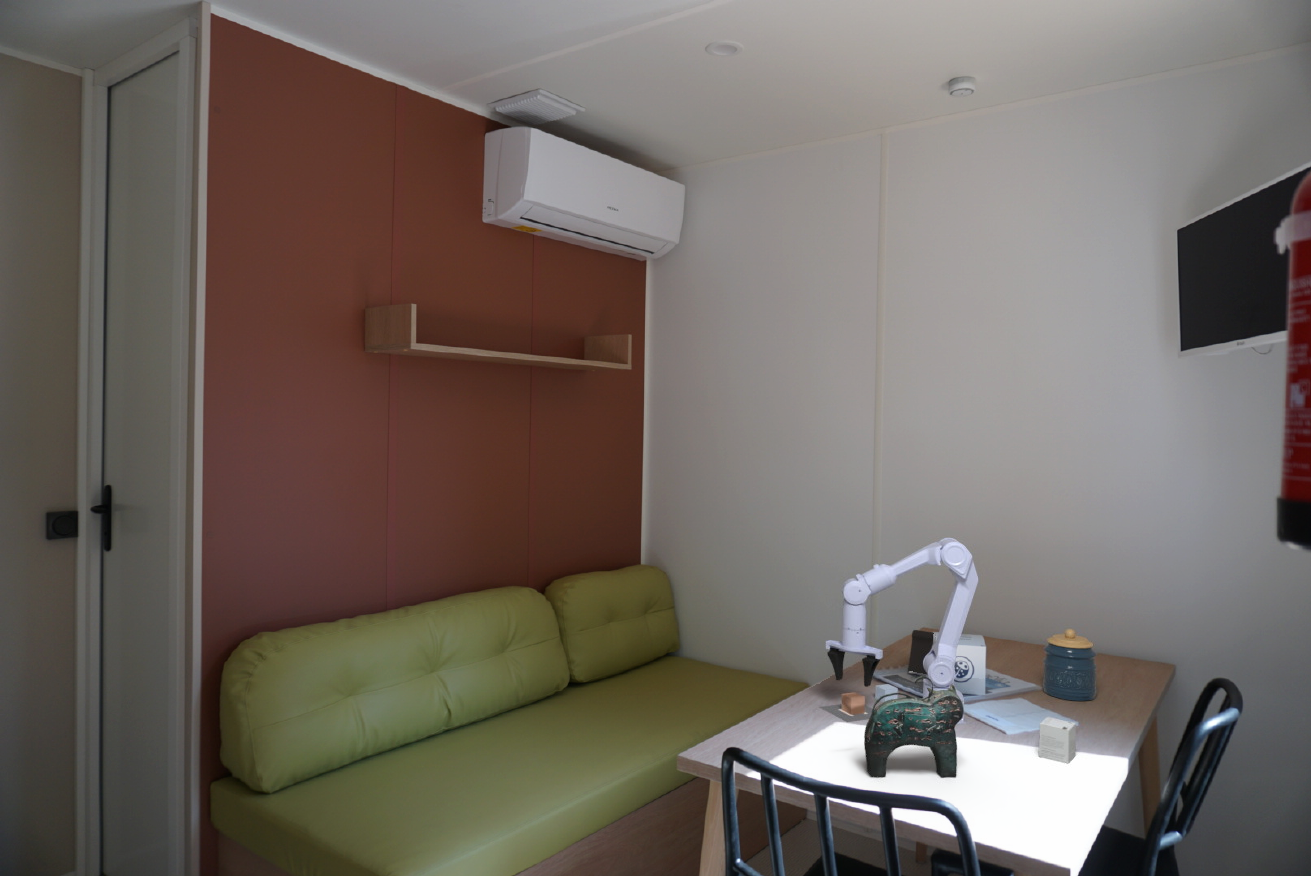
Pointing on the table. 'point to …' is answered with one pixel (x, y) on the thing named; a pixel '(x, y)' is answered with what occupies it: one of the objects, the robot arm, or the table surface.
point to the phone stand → (920, 650)
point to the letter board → (845, 716)
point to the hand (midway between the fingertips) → (853, 682)
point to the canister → (1070, 667)
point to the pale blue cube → (885, 692)
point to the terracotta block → (853, 703)
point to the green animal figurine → (914, 729)
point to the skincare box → (1057, 740)
